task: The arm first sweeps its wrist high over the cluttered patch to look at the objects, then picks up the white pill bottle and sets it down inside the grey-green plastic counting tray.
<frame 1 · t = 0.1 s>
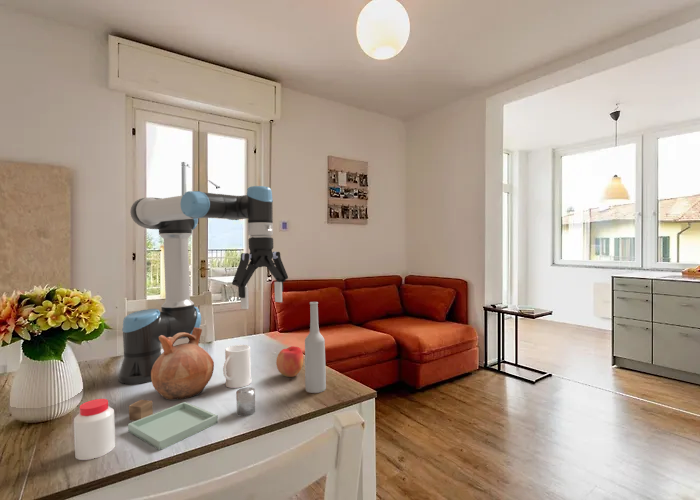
hand: (262, 305, 115), 28 cm above the table, fingers open, 13 cm apart
walnut block: (141, 417, 102), on the table
jug: (183, 393, 119), on the table
pill bottle: (95, 451, 86), on the table
tray: (173, 427, 96), on the table
bottle: (315, 389, 119), on the table
mug: (235, 385, 124), on the table
apple: (290, 376, 131), on the table
grey tin: (246, 412, 104), on the table
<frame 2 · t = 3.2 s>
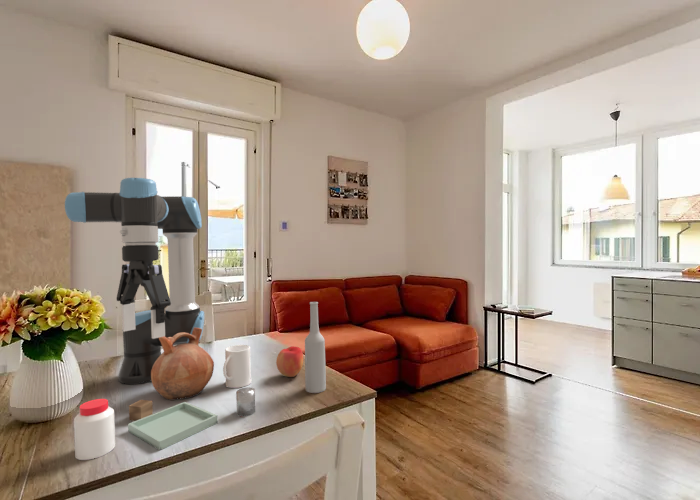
hand: (143, 333, 88), 26 cm above the table, fingers open, 13 cm apart
nothing on the table moved.
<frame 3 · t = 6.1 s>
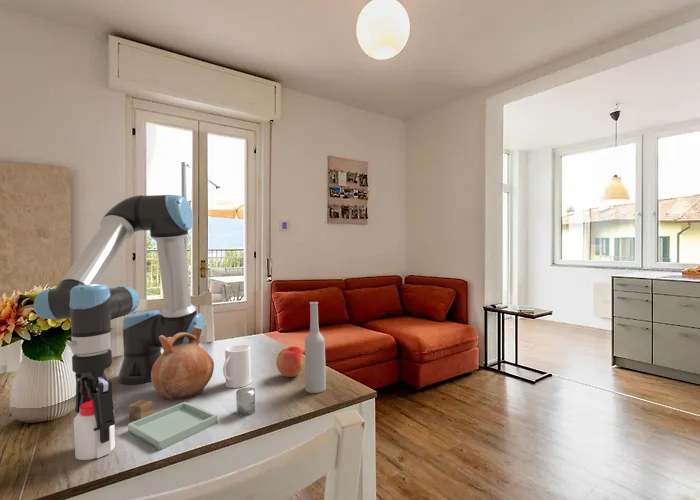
hand: (95, 449, 86), 0 cm above the table, fingers closed on pill bottle, 8 cm apart
pill bottle: (95, 451, 86), on the table, touching gripper
everything else where it was.
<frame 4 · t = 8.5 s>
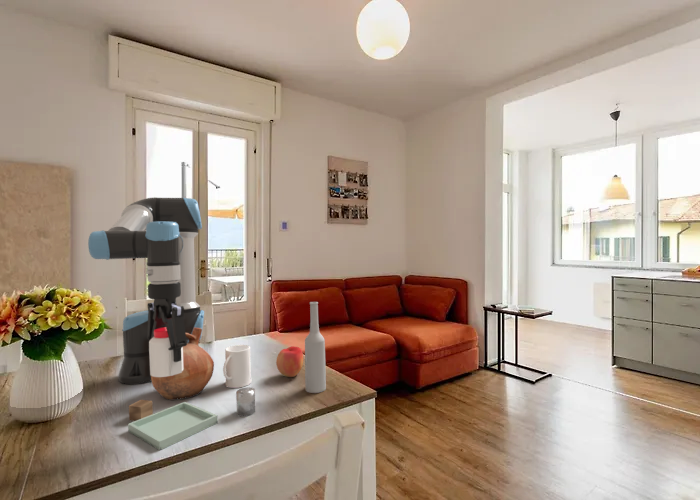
hand: (167, 370, 95), 15 cm above the table, fingers closed on pill bottle, 8 cm apart
pill bottle: (167, 372, 95), point 15 cm above the table, touching gripper
everything else where it was.
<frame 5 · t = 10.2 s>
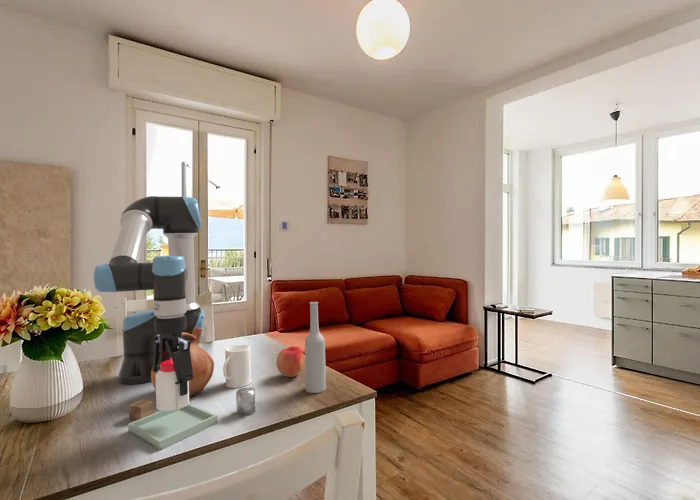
hand: (173, 403, 96), 6 cm above the table, fingers closed on pill bottle, 8 cm apart
pill bottle: (173, 405, 96), point 6 cm above the table, touching gripper
everything else where it was.
when the fingers open (3 cm above the table, at t = 11.3 s): pill bottle drops 2 cm, resting on tray.
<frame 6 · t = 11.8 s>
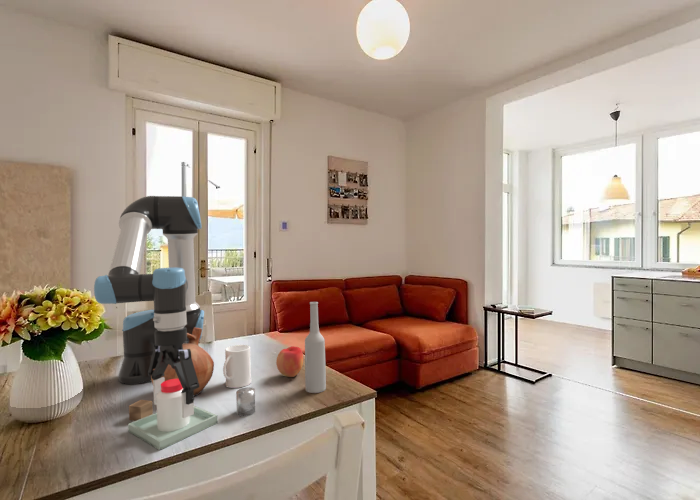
hand: (173, 409, 96), 5 cm above the table, fingers open, 13 cm apart
pill bottle: (173, 424, 96), resting on tray
everything else where it was.
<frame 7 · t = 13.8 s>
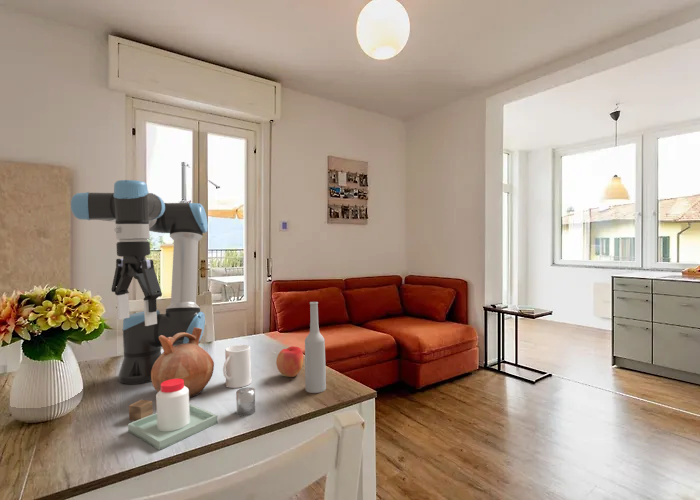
hand: (136, 321, 97), 27 cm above the table, fingers open, 13 cm apart
nothing on the table moved.
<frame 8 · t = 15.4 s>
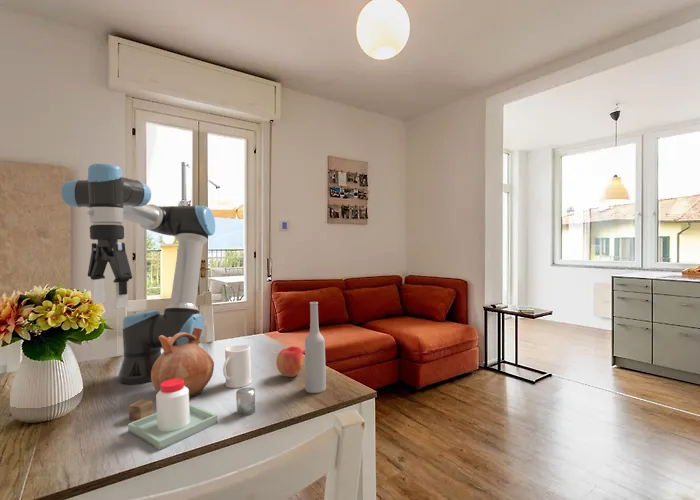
hand: (109, 305, 98), 32 cm above the table, fingers open, 13 cm apart
nothing on the table moved.
at the end: pill bottle inside the target area on the tray (0.3 cm from its centre), point 0.4 cm above the tray's base; pill bottle tilted 0°; the gripper is holding nothing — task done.
